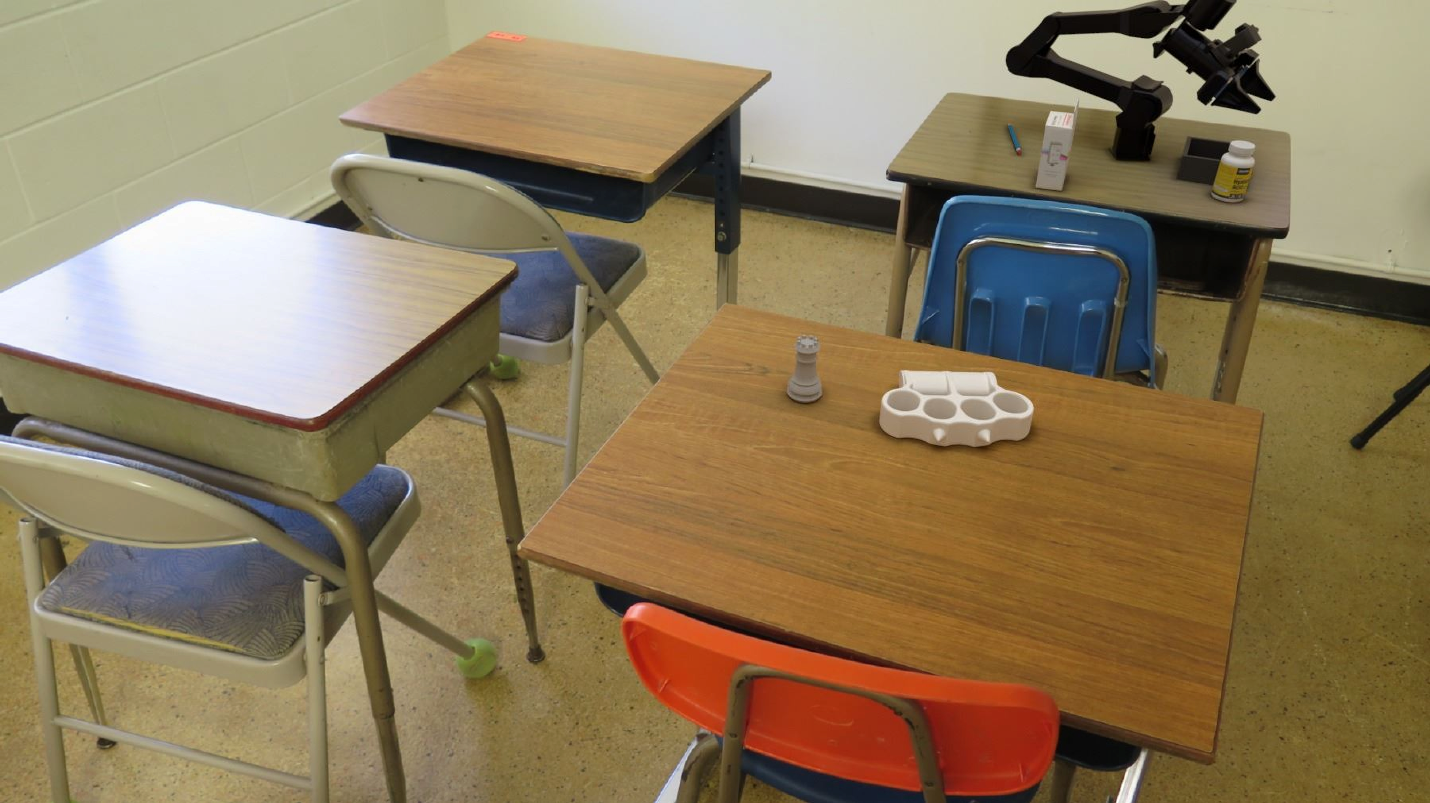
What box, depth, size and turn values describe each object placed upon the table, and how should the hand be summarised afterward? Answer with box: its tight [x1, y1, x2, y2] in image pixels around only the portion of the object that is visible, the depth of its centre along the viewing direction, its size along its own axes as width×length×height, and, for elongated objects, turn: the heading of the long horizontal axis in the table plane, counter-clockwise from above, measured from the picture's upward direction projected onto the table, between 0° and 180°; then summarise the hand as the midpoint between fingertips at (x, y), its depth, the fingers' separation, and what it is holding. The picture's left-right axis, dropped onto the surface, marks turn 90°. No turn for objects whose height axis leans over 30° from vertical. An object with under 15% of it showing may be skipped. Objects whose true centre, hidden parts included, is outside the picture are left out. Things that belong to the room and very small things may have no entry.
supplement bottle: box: [1210, 139, 1256, 204], centre depth 184 cm, size 5×5×10 cm
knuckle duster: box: [878, 369, 1035, 448], centre depth 128 cm, size 3×18×15 cm
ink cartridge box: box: [1035, 97, 1080, 192], centre depth 189 cm, size 9×5×15 cm, turn 160°
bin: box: [1176, 135, 1253, 186], centre depth 195 cm, size 12×12×4 cm
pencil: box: [1007, 123, 1022, 155], centre depth 211 cm, size 1×17×1 cm, turn 174°
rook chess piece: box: [786, 334, 823, 404], centre depth 131 cm, size 4×4×8 cm
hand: (1266, 105), depth 186 cm, fingers open, 9 cm apart
